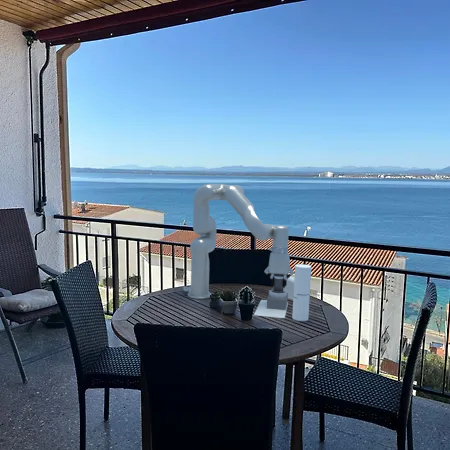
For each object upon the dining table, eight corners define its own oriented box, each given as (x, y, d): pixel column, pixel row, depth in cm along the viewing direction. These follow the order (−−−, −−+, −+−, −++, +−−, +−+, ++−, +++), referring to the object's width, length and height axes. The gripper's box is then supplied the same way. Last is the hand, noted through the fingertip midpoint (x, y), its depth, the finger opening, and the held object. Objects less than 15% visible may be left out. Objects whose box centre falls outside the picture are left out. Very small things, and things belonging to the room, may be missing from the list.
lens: (272, 291, 208) (273, 274, 207) (273, 288, 213) (274, 272, 212) (283, 291, 207) (283, 275, 206) (283, 289, 212) (284, 273, 211)
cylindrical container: (304, 323, 187) (307, 268, 184) (289, 320, 191) (292, 266, 188) (310, 319, 193) (313, 265, 190) (295, 316, 197) (298, 263, 194)
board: (253, 316, 194) (253, 315, 194) (261, 301, 220) (261, 299, 220) (284, 319, 191) (284, 318, 191) (288, 303, 217) (288, 302, 217)
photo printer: (279, 297, 228) (280, 274, 227) (285, 296, 231) (286, 274, 229) (294, 302, 220) (295, 278, 219) (299, 300, 223) (300, 277, 221)
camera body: (266, 308, 205) (267, 294, 204) (269, 300, 219) (270, 287, 218) (285, 310, 203) (286, 296, 202) (287, 302, 217) (288, 288, 216)
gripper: (261, 250, 206) (260, 287, 208) (297, 252, 202) (295, 290, 204) (263, 248, 213) (262, 283, 215) (297, 250, 210) (296, 286, 212)
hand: (278, 286), depth 210 cm, fingers closed on lens, 5 cm apart
